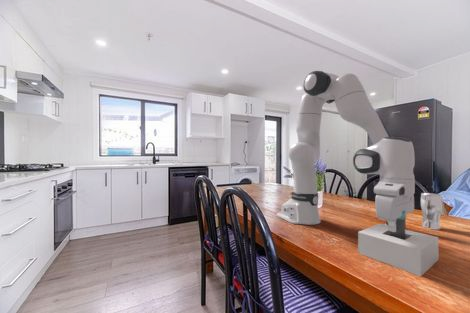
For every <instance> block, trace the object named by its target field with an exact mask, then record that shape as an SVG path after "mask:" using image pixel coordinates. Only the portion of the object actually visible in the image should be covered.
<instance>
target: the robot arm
mask: <svg viewBox="0 0 470 313" xmlns="http://www.w3.org/2000/svg"><path fill="white" fill-rule="evenodd" d="M302 86H303V90H304V92H305V93H304V94H303V95H302V96H301V98H300V102H299V106H298V110H297V118H296V119H297V120H296V134H297V142H296V143H295V144H293V145H291V146H290V148H289V150H288V158H289V160H290V163H291V168H292V175H293V191H292V192H290V193H289V195H290V196H291V197H290V199H288V200H287V201H286V202H284V203H283V204H282V205H281V208H280V210H281V211H279V212H277V213H276V216H277V217H278V218H281V219H282V220H285V221H287V222H289V223H290V224H293V225H308V226H312V225H318V224H320V223H321V222H322V220H321V218H320V217H321V216H320V213H319V207H318V204H319V193H318V176H317V173H316V167H315V166H316V165H315V163H316V162H317V161H319V159H320V157H321V152H320V151H321V145H320V144H321V136H320V134H321V132H320V131H321V123H322V114H323V112H322V111H323V107H324V104H325V103H327V104H332V103H334V104H335V107H336V111H337V113H338V114H339V116H340V118H341V119H343V120H344V121H346V122H348V123H351V124H353V125H355V126H358V127H360V128H362V129H363V130H364V131H365V132H366V133H367V135H368V137H369V139H370V141H371V143H372V145H370V146H367V147H363V148H360V149H358V150H357V151H356V152H355V153H354V155H353V158H352V164H353V167H354V169H355V170H356V171H357V172H358V173H360V174H363V175H379V180H378V183H377V184H376V185H375V186H374V187H373V193H374V194H376V195H375V198H374V200H375V202H374V203H375V205H374V206H375V216H376V217H377V219H378V220H382V221H385V222H386V221H387V222H388V225H389V231H391V232H396V231H397V226H396V221H397V218H400V217H401V216H402V212H403V211H406V216H407V215H408V214H411V213H414V210H415V196H414V194H415V193H416V192H415V190H416V188H415V187H416V179H415V173H414V168H415V166H416V165H415V163H416V162H415V160H416V157H415V156H416V155H415V149H414V144H413V142H412V141H411V139H409V138H408V137H407V138H406V137H398V136H397V137H395V136H391V135H390V133H389V131H388V129H387V127H386V124H385V123H384V121H383V120H382V118H381V116H380V115H379V113H378V112H377V111H376V110H375V108H374V106H373V105H372V103H371V102H370V99H369V98H368V96H367V93H366V89H365V88H364V86H363V84H362V81H360V79H359V77H358V76H357V75H356V74H354V73H344V74H342V75H340V76H339V75H336V74H334V73H329V72H325V71H323V70H314V71H311V72H309V73H308V74H307V75H306V77H305V78H304V80H303V85H302Z"/></svg>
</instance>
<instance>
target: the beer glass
mask: <svg viewBox="0 0 470 313" xmlns="http://www.w3.org/2000/svg"><path fill="white" fill-rule="evenodd" d="M442 198H443V197H442V194H439V193H431V192H421V193H420V208H421V214H422V223H421V227H422V228H424V229H427V230H434V231H439V230H441V229H442V228H441V224H440V220H441V219H440V218H441V214H442V209H443V200H442Z"/></svg>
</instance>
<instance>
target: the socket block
mask: <svg viewBox="0 0 470 313" xmlns="http://www.w3.org/2000/svg"><path fill="white" fill-rule="evenodd" d="M385 224H386V223H385ZM385 224H384V223H377V224H374V225H372V226H369V227H367V228H365V229H362V230H359V231H358V232H357V253H358V254H360V255H363V256H366V257H368V258H371V259H374V260H376V261H379V262H381V263H384V264H386V265H389V266H392V267H395V268H397V269H400V270H402V271H405V272H408V273H410V274H413V275H416V276H418V277H422V276H423V275H424V274H425V273H427V271H428V270H429V269H430V268H431V267H432V266H433V265H435V264H436V263H437V262H438V261H439V236H434V235H430V234H426V233H423V232H418V231H415V230H414V231H413V230H410V229H407V228H406V229H405V240H403V239H400V238H396V237H393V236H389V225H385Z"/></svg>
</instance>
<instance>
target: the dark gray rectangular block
mask: <svg viewBox="0 0 470 313" xmlns="http://www.w3.org/2000/svg"><path fill="white" fill-rule="evenodd" d="M406 218H407V215H406V211H403V212H402V216H401V217H400V218H397V221H396V226H397V231H396V232H391V231H389V236H393V237H396V238H400V239H403V240H405V219H406ZM406 220H407V219H406Z"/></svg>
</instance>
